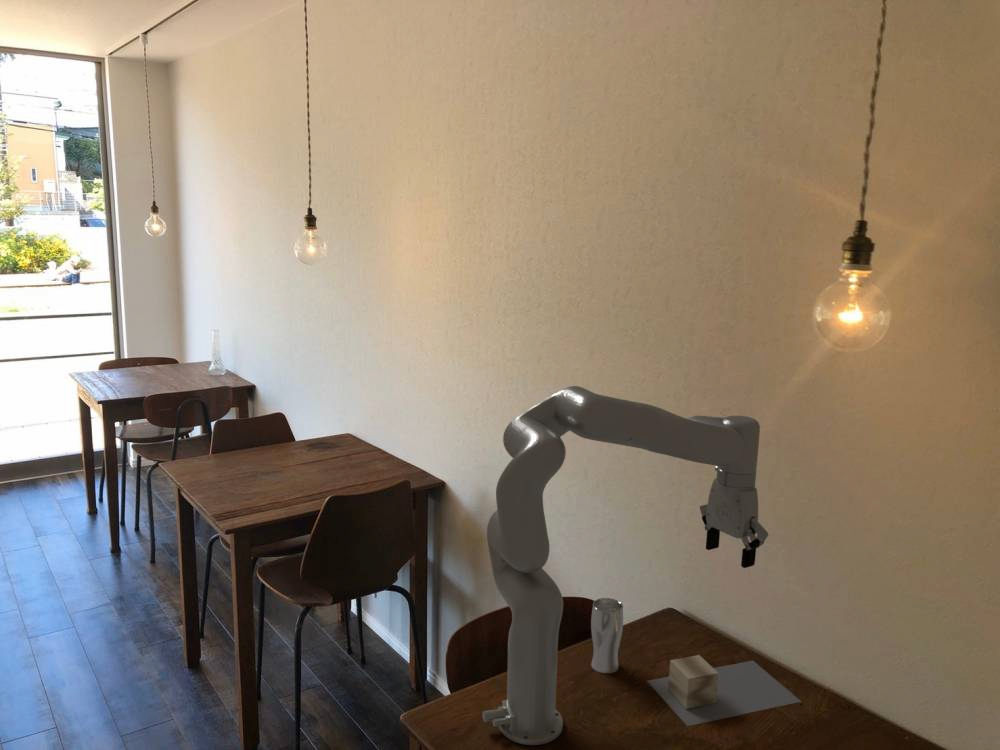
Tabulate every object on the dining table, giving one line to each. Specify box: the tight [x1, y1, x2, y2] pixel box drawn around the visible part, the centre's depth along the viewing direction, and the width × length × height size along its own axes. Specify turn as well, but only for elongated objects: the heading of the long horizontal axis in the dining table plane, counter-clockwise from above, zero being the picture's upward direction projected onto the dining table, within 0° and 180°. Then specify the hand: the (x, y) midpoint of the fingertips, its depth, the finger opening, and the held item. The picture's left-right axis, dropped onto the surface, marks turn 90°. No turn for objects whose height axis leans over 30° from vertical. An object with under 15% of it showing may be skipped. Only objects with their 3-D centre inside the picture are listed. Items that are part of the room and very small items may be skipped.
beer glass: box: [590, 597, 624, 674], centre depth 170 cm, size 7×7×15 cm
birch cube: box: [668, 654, 718, 710], centre depth 160 cm, size 7×7×7 cm
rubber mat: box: [646, 660, 802, 727], centre depth 163 cm, size 27×16×1 cm, turn 109°
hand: (729, 557), depth 159 cm, fingers open, 9 cm apart
